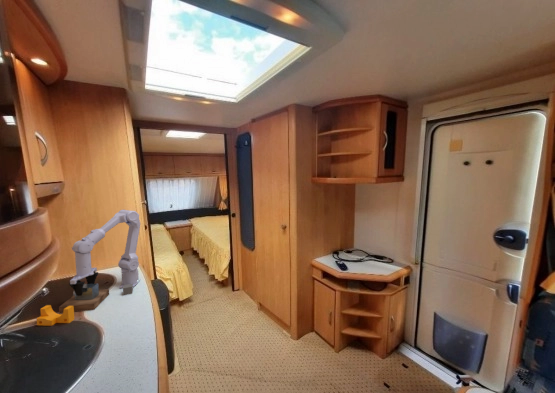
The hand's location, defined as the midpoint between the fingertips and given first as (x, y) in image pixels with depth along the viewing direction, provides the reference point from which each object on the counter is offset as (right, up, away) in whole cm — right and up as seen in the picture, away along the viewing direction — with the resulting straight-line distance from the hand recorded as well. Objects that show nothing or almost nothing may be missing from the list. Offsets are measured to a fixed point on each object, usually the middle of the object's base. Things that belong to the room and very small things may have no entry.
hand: (85, 291), depth 110 cm
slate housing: (+1, -3, 0) cm, 3 cm away
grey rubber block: (+14, -6, +11) cm, 19 cm away
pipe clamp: (-1, -8, -14) cm, 16 cm away
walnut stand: (0, -6, +1) cm, 6 cm away
